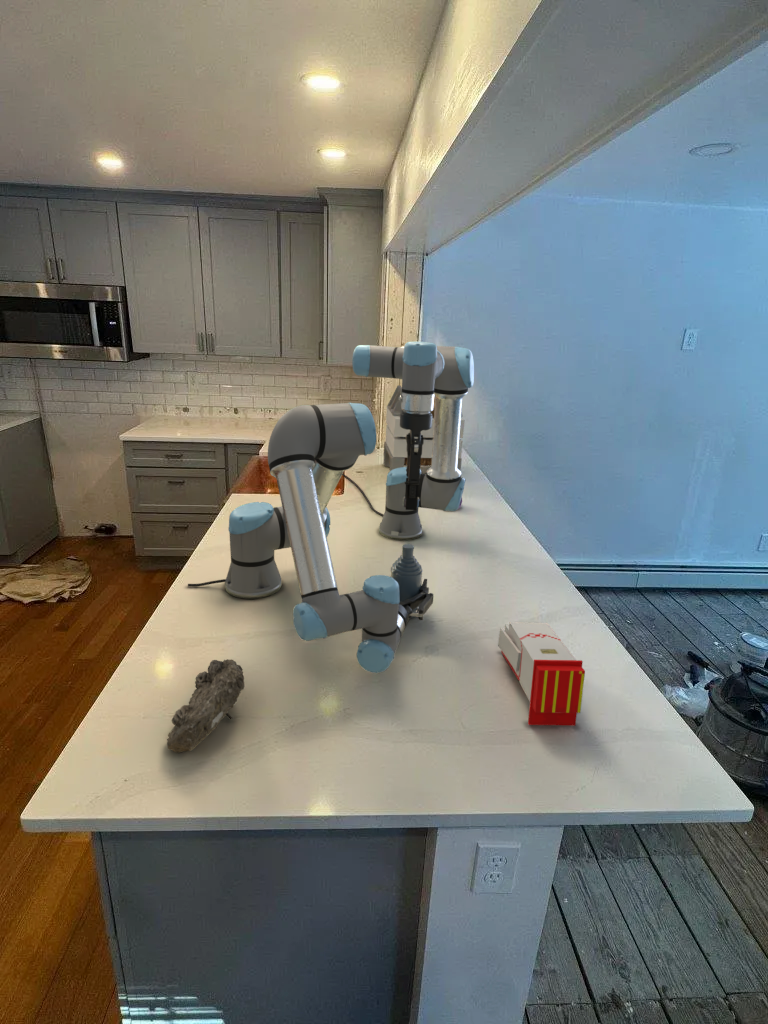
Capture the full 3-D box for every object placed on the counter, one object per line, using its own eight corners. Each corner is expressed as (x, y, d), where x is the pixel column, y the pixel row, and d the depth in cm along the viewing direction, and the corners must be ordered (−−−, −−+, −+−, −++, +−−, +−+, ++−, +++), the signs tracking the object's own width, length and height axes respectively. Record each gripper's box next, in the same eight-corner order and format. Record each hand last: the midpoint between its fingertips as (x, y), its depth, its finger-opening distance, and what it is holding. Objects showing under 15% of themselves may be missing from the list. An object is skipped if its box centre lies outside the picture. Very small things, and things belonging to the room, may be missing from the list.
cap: (399, 505, 140) (399, 497, 139) (410, 502, 142) (410, 494, 142) (411, 509, 137) (411, 501, 136) (422, 506, 140) (422, 498, 139)
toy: (544, 607, 134) (594, 667, 105) (539, 659, 137) (586, 732, 108) (493, 606, 134) (529, 666, 105) (489, 658, 137) (523, 731, 107)
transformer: (382, 463, 289) (386, 382, 275) (445, 464, 293) (451, 384, 279) (390, 482, 257) (394, 392, 243) (460, 483, 261) (468, 394, 247)
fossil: (192, 660, 117) (244, 628, 112) (224, 691, 120) (276, 661, 115) (142, 746, 98) (202, 712, 93) (182, 779, 101) (242, 748, 96)
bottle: (389, 602, 153) (392, 538, 147) (419, 603, 153) (424, 540, 147) (388, 617, 146) (391, 551, 139) (419, 619, 145) (424, 553, 139)
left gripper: (345, 630, 134) (370, 587, 155) (433, 645, 130) (447, 599, 151) (346, 602, 132) (371, 562, 152) (435, 616, 127) (449, 573, 148)
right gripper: (399, 404, 140) (394, 494, 148) (401, 417, 124) (396, 517, 132) (429, 406, 140) (423, 496, 148) (435, 418, 124) (428, 518, 132)
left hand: (409, 581), depth 152 cm, fingers closed on bottle, 8 cm apart
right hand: (410, 506), depth 140 cm, fingers closed on cap, 4 cm apart
